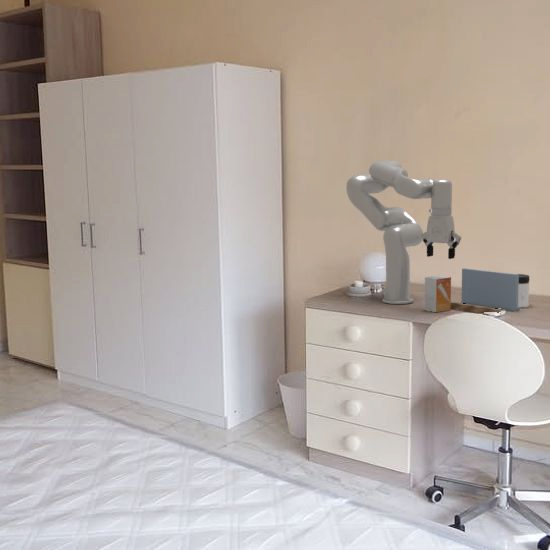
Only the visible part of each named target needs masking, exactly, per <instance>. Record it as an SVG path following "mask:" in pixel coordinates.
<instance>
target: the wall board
mask: <svg viewBox="0 0 550 550" xmlns="http://www.w3.org/2000/svg"><path fill="white" fill-rule="evenodd" d="M519 274H520V273H509V272H501V271H490V270H482V269H475V268H474V269H473V268H463V267H462V269H461V302H460V303H466V304H469V305H470V304H471V305H477V306H482V307H488V308H501V310H502V309H506V310H505V311H508V310H510V311H511V312H515V311H516V312H518V310H519V311H520V309H521V308H518V287H519Z"/></svg>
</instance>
